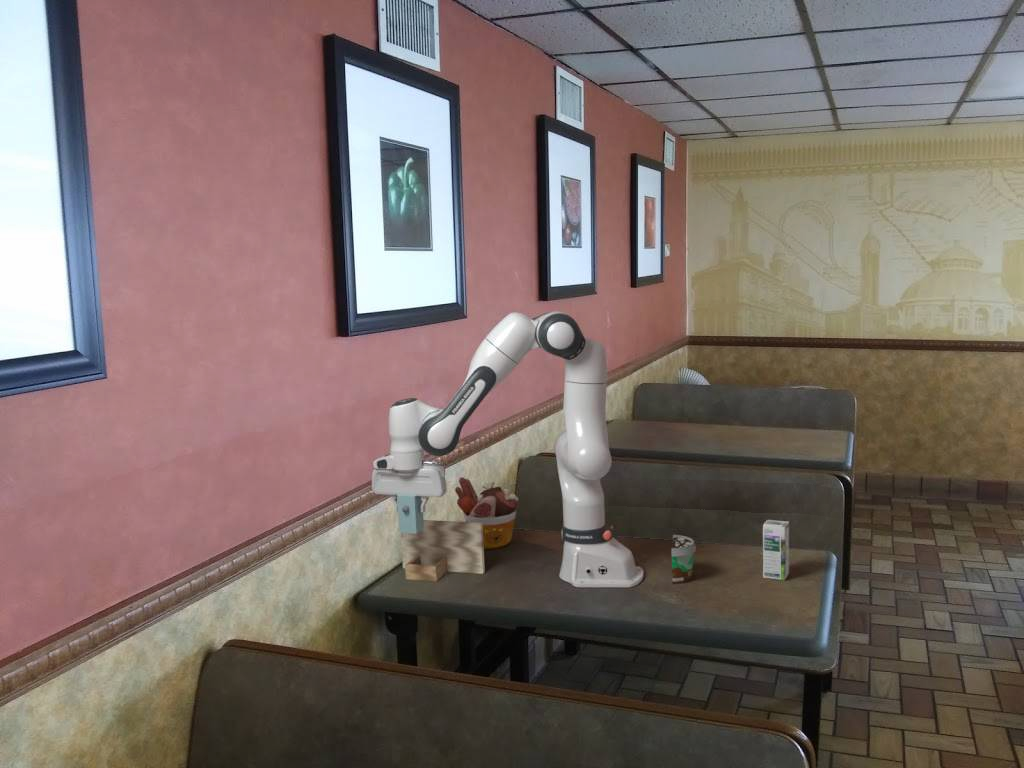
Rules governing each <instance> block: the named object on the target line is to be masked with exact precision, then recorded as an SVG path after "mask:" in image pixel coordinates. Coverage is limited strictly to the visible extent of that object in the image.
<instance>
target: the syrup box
mask: <svg viewBox="0 0 1024 768" xmlns="http://www.w3.org/2000/svg"><path fill="white" fill-rule="evenodd" d="M762 561H763V563H762V567H763V568H762V576H763V577H762V578H763V579H769V580H770V579H771V580H779V581H785V580H786V579H787V577H788V575H789V573H790V521H788V520H787V521H784V520H774V519H773V520H772V519H767V520H766V521H765V522H764V523H763V524H762Z"/></svg>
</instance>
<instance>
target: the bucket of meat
mask: <svg viewBox="0 0 1024 768" xmlns="http://www.w3.org/2000/svg"><path fill="white" fill-rule="evenodd" d="M458 483H459V485H460V487H459V486H457V487H455V490H454V492H455V493H456V494H457V496H458V499H457V502H456V503H457V506H458V507H459V509H461V511H462V512H463V516H464V519H465V522H474V523H482V525H483V545H484V550H488V549H499V548H504V547H505V546H507V545H508V544H510V542H511V541H512V537H513V531H514V526H515V519H516V515H517V503H518V502H519V497H518V496H517V494H514V493H511V490H510V489H509V488H504V489H502V487H501V486H495V487H494V485H495V483H496V482H495V481H494V480H490V481H488V483H484V484H483V485H482V486H481V487H482V488H483V489H485V490H483V491H481V492H480V493H479V495H477V493H476V491H475V489H474V486H473V484H472V483H471V481H470V480H469V479H467V478H465V477H460V478H459V480H458Z"/></svg>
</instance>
